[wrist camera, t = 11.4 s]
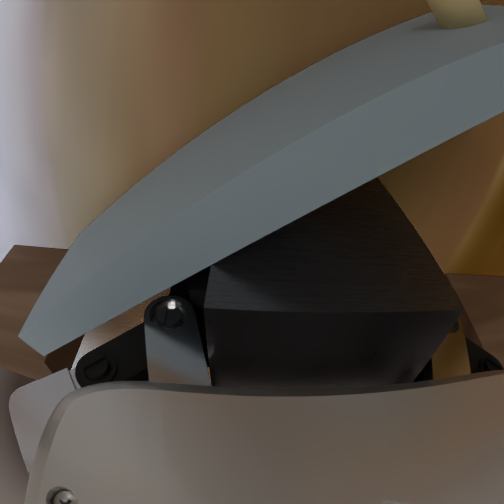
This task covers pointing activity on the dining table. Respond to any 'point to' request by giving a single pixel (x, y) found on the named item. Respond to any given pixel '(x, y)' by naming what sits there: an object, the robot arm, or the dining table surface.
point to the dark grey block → (329, 301)
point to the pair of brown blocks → (38, 366)
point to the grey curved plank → (280, 162)
